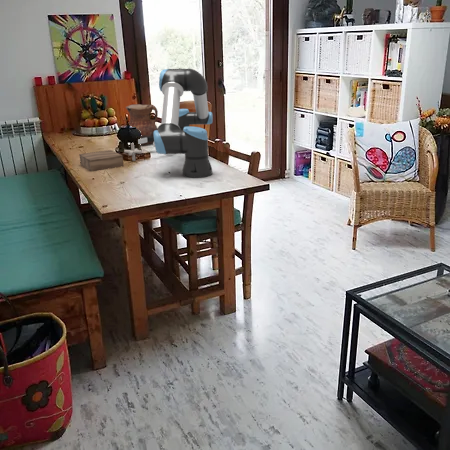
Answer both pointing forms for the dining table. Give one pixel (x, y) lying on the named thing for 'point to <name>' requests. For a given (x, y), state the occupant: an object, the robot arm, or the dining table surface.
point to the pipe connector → (133, 151)
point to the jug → (143, 119)
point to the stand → (101, 160)
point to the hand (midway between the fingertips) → (145, 143)
